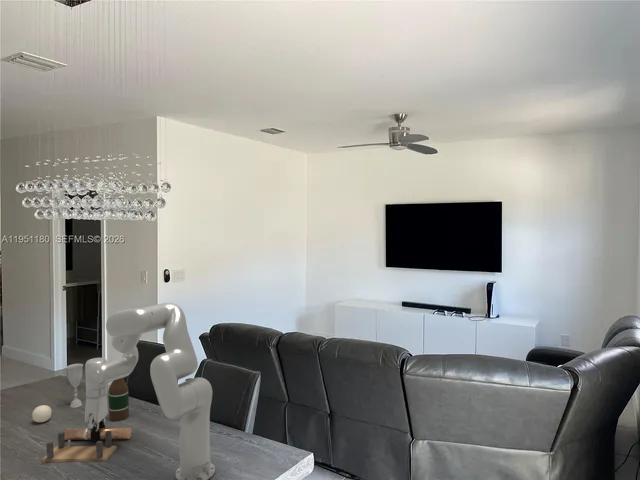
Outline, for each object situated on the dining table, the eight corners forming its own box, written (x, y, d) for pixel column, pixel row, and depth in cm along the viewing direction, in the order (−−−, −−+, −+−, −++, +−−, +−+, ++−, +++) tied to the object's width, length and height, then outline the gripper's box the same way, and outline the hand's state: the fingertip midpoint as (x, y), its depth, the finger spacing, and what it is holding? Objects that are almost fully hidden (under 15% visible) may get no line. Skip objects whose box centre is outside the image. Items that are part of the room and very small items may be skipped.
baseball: (56, 417, 196) (55, 402, 196) (44, 425, 189) (43, 409, 188) (41, 417, 197) (40, 401, 196) (28, 424, 189) (28, 408, 189)
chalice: (68, 403, 211) (67, 364, 210) (84, 401, 214) (83, 362, 213) (66, 409, 205) (65, 369, 204) (84, 406, 207) (83, 367, 207)
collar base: (116, 448, 170) (116, 430, 169) (106, 460, 161) (105, 442, 160) (55, 449, 169) (55, 432, 169) (41, 462, 160) (41, 443, 160)
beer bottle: (104, 419, 194) (103, 363, 193) (120, 412, 201) (119, 358, 200) (117, 423, 191) (116, 366, 190) (132, 416, 198) (131, 360, 196)
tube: (131, 436, 179) (131, 425, 179) (127, 441, 175) (127, 430, 175) (69, 437, 179) (68, 426, 178) (63, 442, 174) (63, 431, 174)
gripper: (96, 383, 184) (97, 428, 185) (76, 399, 168) (77, 449, 168) (115, 383, 185) (116, 428, 185) (97, 399, 168) (98, 448, 169)
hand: (98, 437), depth 177 cm, fingers closed on tube, 4 cm apart
